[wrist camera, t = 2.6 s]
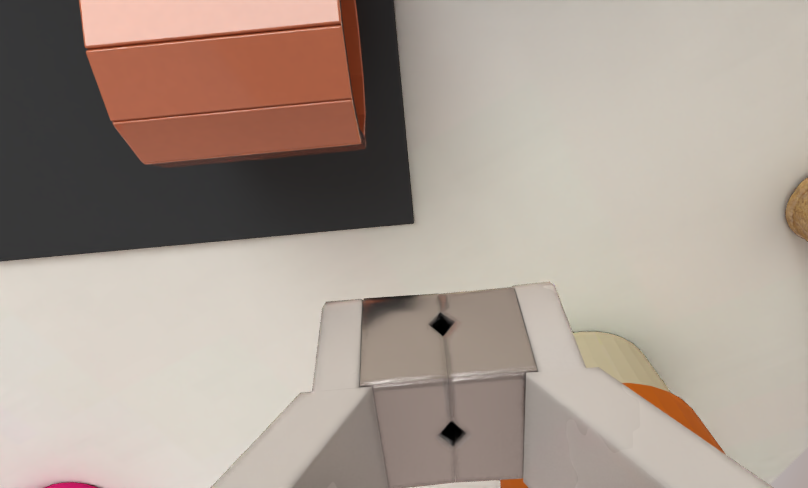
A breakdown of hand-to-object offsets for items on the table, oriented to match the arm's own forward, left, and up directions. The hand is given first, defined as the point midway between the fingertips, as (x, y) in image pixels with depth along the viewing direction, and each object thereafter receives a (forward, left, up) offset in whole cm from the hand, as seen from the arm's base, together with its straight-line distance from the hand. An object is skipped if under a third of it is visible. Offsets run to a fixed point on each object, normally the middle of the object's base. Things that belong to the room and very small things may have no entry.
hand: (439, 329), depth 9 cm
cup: (0, -6, -21) cm, 21 cm away
